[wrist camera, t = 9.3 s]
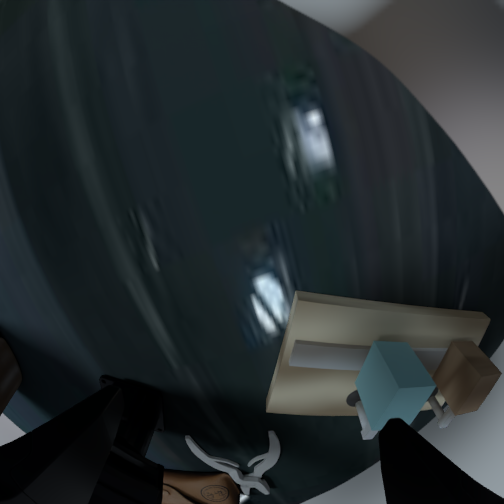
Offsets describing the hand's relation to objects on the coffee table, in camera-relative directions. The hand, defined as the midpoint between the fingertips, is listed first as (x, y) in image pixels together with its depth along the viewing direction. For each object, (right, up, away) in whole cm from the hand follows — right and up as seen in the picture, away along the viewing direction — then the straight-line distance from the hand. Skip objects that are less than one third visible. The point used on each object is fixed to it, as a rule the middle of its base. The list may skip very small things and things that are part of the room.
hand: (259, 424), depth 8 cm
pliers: (-1, -20, +20) cm, 28 cm away
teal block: (+9, -4, +11) cm, 15 cm away
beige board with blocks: (+11, -4, +13) cm, 18 cm away
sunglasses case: (-11, -27, +22) cm, 36 cm away
